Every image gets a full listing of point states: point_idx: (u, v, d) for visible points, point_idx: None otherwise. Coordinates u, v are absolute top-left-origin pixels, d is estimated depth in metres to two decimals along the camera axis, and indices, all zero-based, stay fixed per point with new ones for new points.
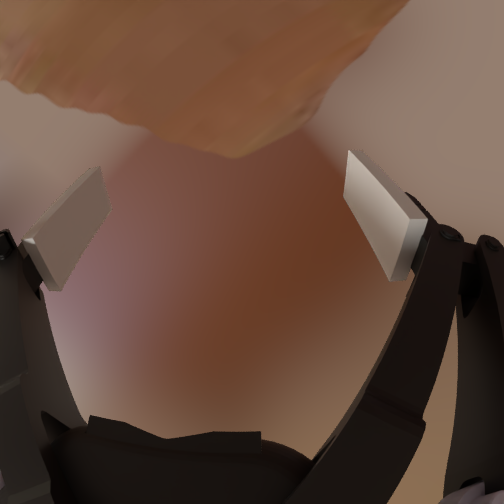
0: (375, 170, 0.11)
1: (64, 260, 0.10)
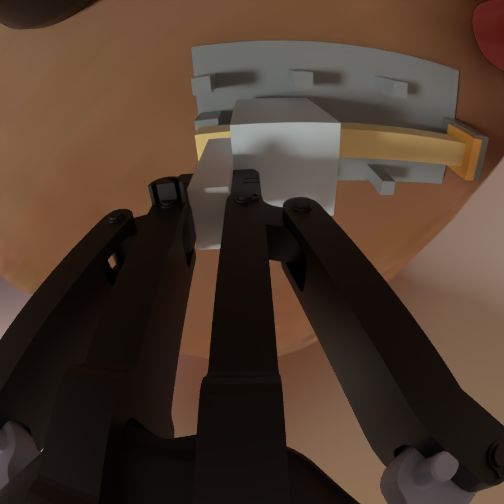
0: (224, 152, 0.13)
1: None
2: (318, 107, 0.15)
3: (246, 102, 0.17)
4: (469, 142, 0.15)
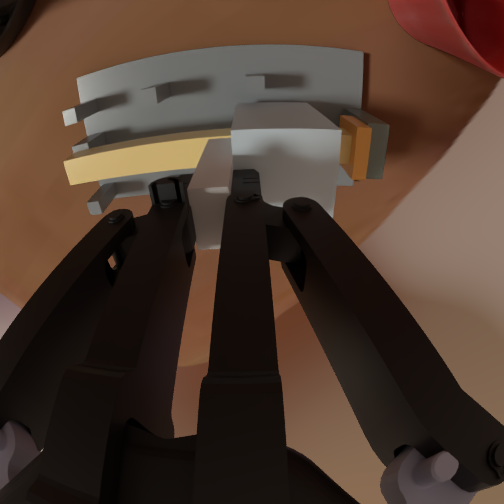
0: (224, 152, 0.13)
1: None
2: (319, 113, 0.15)
3: (247, 106, 0.17)
4: (354, 133, 0.16)
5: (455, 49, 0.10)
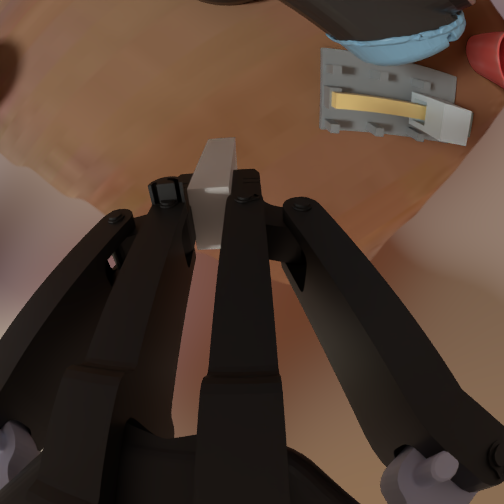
0: (224, 152, 0.13)
1: None
2: None
3: (422, 94, 0.29)
4: None
5: (498, 83, 0.23)
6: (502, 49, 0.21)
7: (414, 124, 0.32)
